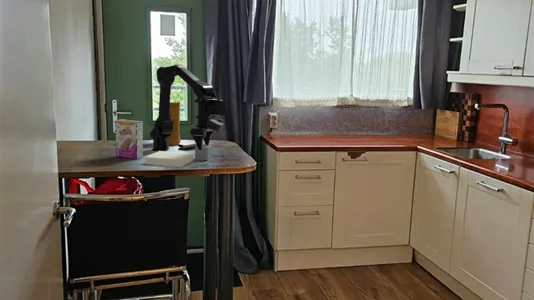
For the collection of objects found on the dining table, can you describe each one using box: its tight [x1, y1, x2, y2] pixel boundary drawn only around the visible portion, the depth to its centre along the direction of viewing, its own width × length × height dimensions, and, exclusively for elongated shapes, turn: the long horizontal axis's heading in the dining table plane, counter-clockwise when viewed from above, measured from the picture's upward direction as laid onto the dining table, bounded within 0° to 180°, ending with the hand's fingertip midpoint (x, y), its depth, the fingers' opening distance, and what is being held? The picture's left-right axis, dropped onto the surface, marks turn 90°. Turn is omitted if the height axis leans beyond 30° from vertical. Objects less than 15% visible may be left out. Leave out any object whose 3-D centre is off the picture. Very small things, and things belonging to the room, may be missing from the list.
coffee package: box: [168, 101, 181, 147], centre depth 240 cm, size 10×12×22 cm
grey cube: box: [194, 144, 213, 162], centre depth 210 cm, size 6×6×6 cm
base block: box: [144, 150, 194, 168], centre depth 201 cm, size 16×14×3 cm
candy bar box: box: [115, 118, 144, 160], centre depth 206 cm, size 11×5×16 cm, turn 71°
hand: (203, 148), depth 210 cm, fingers open, 9 cm apart
